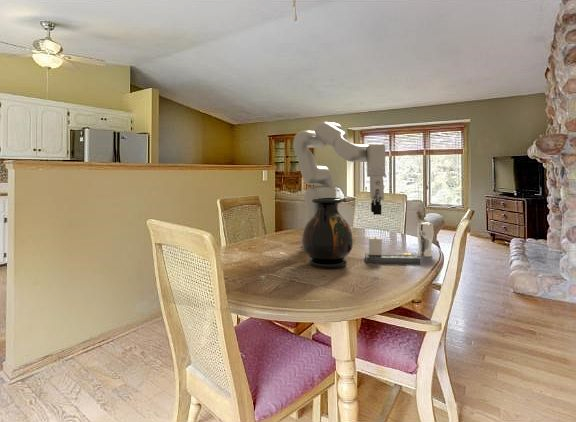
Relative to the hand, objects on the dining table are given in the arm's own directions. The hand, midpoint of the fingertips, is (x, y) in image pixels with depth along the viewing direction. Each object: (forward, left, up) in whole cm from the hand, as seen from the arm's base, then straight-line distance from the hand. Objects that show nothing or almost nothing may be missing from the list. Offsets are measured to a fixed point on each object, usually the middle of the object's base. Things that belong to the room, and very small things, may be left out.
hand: (376, 213), depth 151 cm
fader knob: (0, 0, -18) cm, 18 cm away
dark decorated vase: (-14, -17, -21) cm, 30 cm away
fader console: (+6, +4, -21) cm, 22 cm away
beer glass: (+14, +22, -21) cm, 33 cm away
